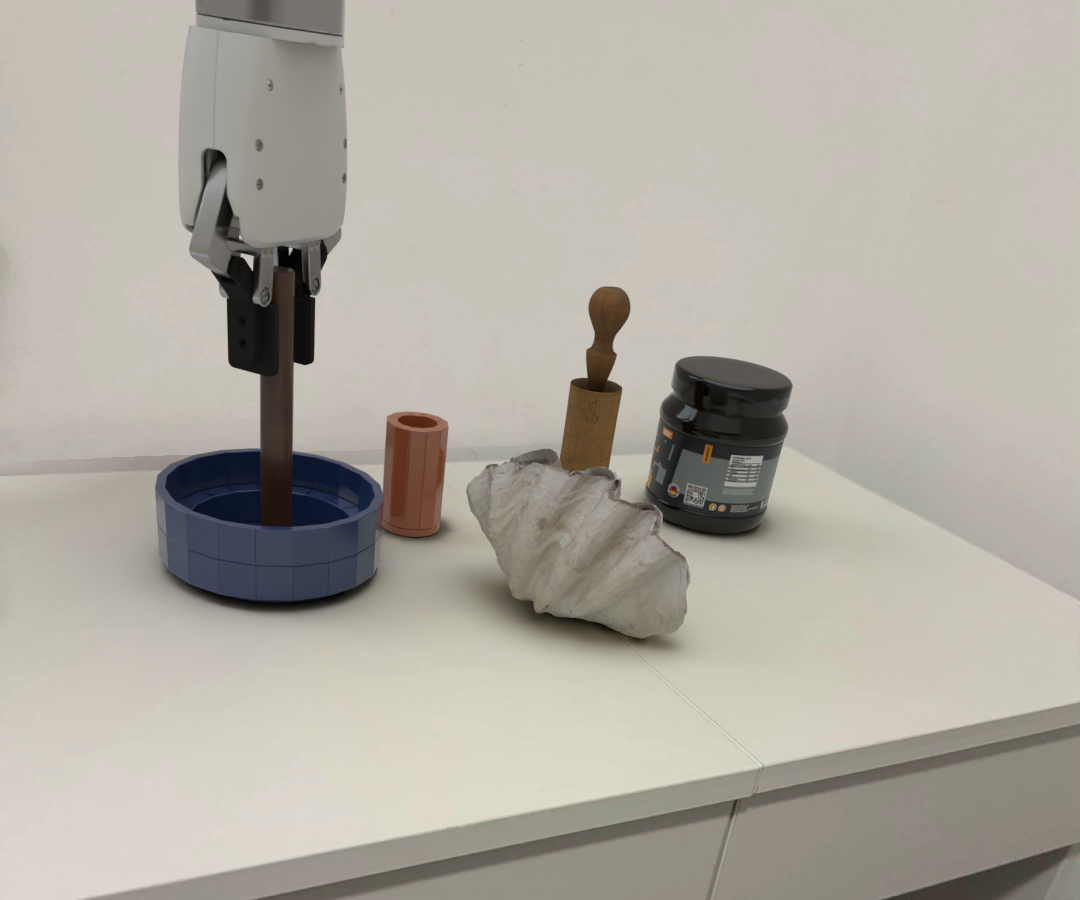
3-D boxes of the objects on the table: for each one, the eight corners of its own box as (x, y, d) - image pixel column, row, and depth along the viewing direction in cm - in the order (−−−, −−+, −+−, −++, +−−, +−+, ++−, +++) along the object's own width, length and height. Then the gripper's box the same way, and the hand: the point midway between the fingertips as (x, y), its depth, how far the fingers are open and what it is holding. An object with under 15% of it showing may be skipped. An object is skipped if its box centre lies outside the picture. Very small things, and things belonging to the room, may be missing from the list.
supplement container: (678, 481, 97) (706, 347, 90) (782, 518, 92) (820, 379, 86) (618, 507, 89) (645, 363, 83) (729, 549, 85) (766, 399, 78)
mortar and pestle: (524, 528, 82) (557, 285, 73) (544, 502, 88) (576, 272, 78) (607, 547, 82) (651, 303, 72) (621, 519, 87) (664, 288, 77)
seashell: (557, 556, 79) (577, 424, 74) (693, 646, 69) (727, 502, 64) (440, 576, 73) (453, 435, 68) (571, 678, 64) (597, 523, 58)
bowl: (112, 570, 68) (105, 488, 65) (247, 506, 79) (246, 434, 76) (303, 634, 64) (304, 550, 61) (415, 557, 75) (421, 483, 72)
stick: (254, 554, 70) (252, 267, 61) (272, 544, 72) (272, 263, 62) (280, 562, 70) (282, 274, 60) (297, 553, 72) (301, 270, 62)
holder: (369, 526, 79) (375, 420, 75) (398, 509, 82) (405, 407, 78) (422, 542, 78) (430, 435, 74) (449, 524, 81) (458, 421, 77)
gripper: (298, 9, 62) (295, 331, 72) (99, -23, 49) (128, 377, 59) (411, 27, 60) (392, 355, 70) (234, -2, 47) (241, 408, 57)
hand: (272, 362), depth 64 cm, fingers open, 3 cm apart
